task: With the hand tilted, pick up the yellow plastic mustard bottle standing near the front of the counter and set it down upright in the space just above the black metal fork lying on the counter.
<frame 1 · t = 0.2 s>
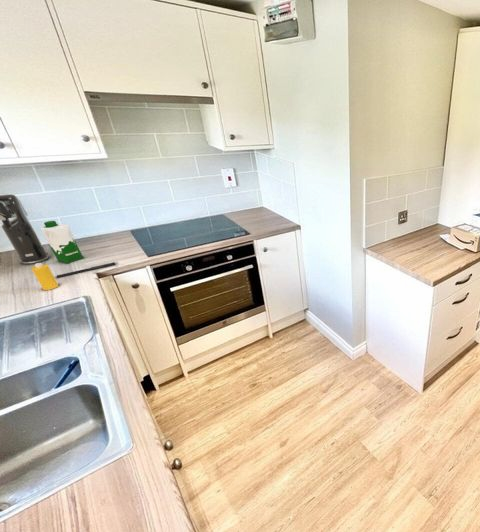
milk carton: (71, 260, 164), on the worktop
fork: (86, 270, 154), on the worktop
mustard bottle: (50, 287, 141), on the worktop
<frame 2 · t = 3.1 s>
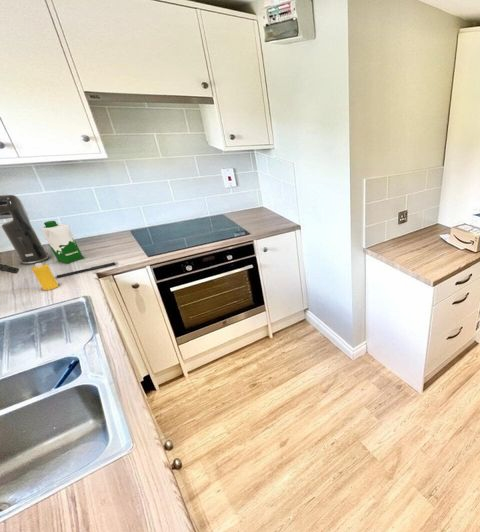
hand: (10, 269, 128), 13 cm above the worktop, tool tilted 45°, fingers open, 8 cm apart
nothing on the worktop moved.
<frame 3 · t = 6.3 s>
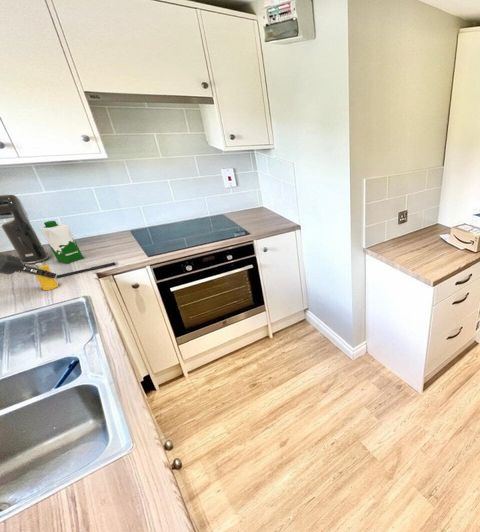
hand: (50, 275, 140), 5 cm above the worktop, tool tilted 45°, fingers closed on mustard bottle, 4 cm apart
mustard bottle: (50, 287, 141), on the worktop, touching gripper
everything else where it was.
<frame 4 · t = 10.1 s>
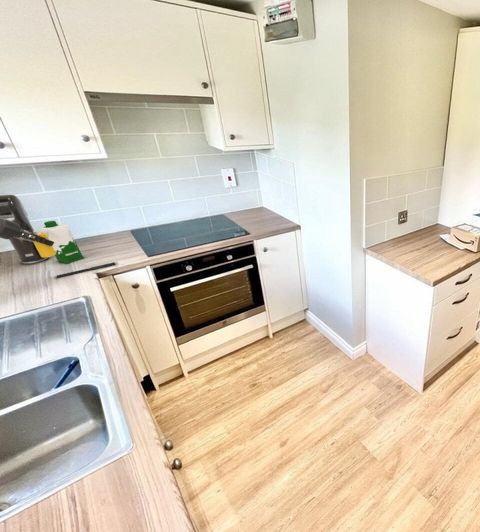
hand: (48, 243, 143), 16 cm above the worktop, tool tilted 45°, fingers closed on mustard bottle, 4 cm apart
mustard bottle: (48, 255, 143), point 11 cm above the worktop, touching gripper
everything else where it was.
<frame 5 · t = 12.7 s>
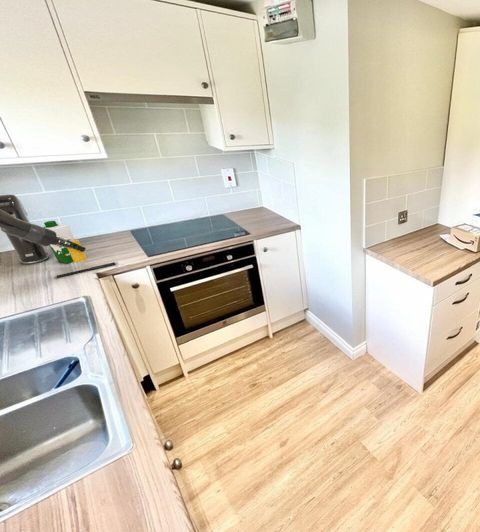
hand: (80, 249, 155), 9 cm above the worktop, tool tilted 45°, fingers closed on mustard bottle, 4 cm apart
mustard bottle: (80, 260, 156), point 4 cm above the worktop, touching gripper
everything else where it was.
when the fingers open (5 cm above the worktop, at t = 14.4 s): mustard bottle stays where it is, on the worktop.
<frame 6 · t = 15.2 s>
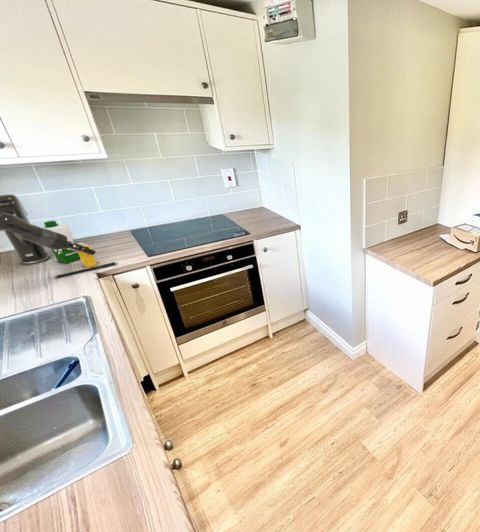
hand: (88, 251, 158), 6 cm above the worktop, tool tilted 45°, fingers open, 8 cm apart
mustard bottle: (90, 264, 160), on the worktop
everything else where it was.
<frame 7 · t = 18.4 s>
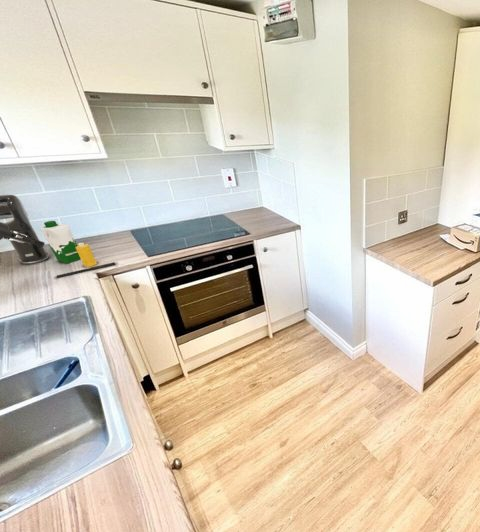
hand: (36, 243, 141), 17 cm above the worktop, tool tilted 45°, fingers open, 8 cm apart
nothing on the worktop moved.
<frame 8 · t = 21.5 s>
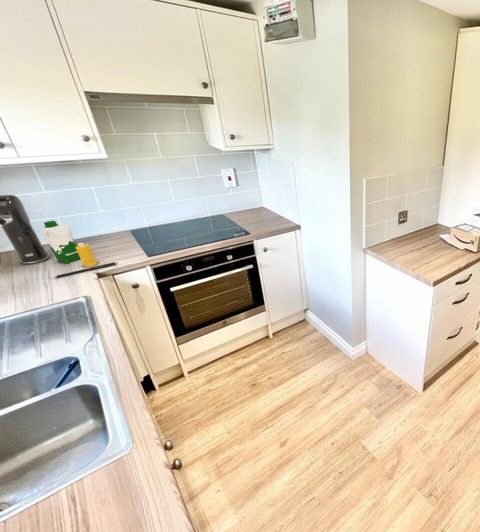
nothing on the worktop moved.
at the end: mustard bottle inside the target area on the worktop beside the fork (0.8 cm from its centre), on the worktop; mustard bottle tilted 0°; the gripper is holding nothing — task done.
